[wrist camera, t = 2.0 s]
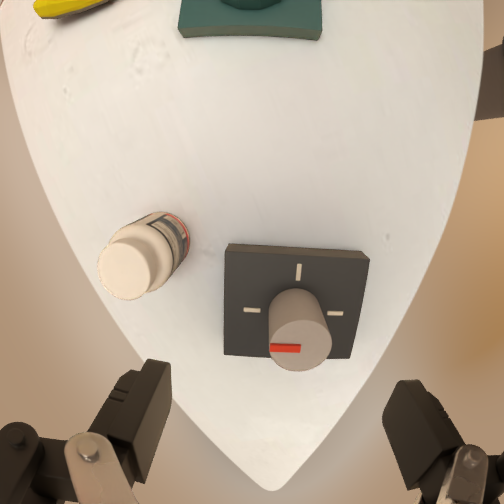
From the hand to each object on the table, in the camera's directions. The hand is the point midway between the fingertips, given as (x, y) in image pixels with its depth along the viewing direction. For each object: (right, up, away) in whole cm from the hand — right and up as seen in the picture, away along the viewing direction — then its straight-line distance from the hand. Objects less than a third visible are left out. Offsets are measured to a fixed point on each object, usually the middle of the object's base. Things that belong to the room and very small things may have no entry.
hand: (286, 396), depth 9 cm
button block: (-1, +29, +11) cm, 31 cm away
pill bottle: (-9, +6, +18) cm, 21 cm away
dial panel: (+3, 0, +18) cm, 19 cm away
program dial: (+2, 0, +16) cm, 16 cm away
